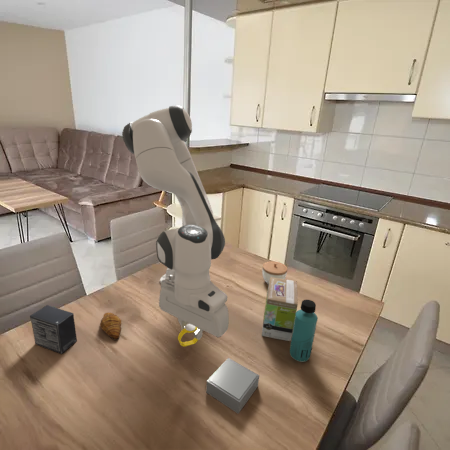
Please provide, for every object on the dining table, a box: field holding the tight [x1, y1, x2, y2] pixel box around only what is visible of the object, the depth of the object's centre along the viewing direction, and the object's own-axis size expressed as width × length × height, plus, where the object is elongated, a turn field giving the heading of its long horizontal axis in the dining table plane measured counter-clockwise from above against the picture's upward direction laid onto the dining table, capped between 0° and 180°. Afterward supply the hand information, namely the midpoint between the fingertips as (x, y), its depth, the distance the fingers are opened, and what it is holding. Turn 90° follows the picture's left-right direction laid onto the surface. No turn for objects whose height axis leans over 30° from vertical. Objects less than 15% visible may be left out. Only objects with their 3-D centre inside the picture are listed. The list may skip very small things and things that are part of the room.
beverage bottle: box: [289, 299, 318, 363], centre depth 90 cm, size 6×7×20 cm
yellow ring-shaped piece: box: [177, 323, 199, 348], centre depth 81 cm, size 6×3×6 cm, turn 117°
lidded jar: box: [261, 260, 288, 286], centre depth 132 cm, size 11×11×9 cm
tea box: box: [261, 277, 299, 342], centre depth 105 cm, size 15×10×15 cm, turn 168°
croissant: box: [99, 312, 122, 341], centre depth 100 cm, size 14×7×5 cm, turn 33°
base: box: [205, 357, 260, 415], centre depth 80 cm, size 10×10×4 cm
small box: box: [29, 304, 78, 355], centre depth 91 cm, size 11×6×10 cm, turn 71°
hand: (191, 334), depth 81 cm, fingers closed on yellow ring-shaped piece, 3 cm apart
